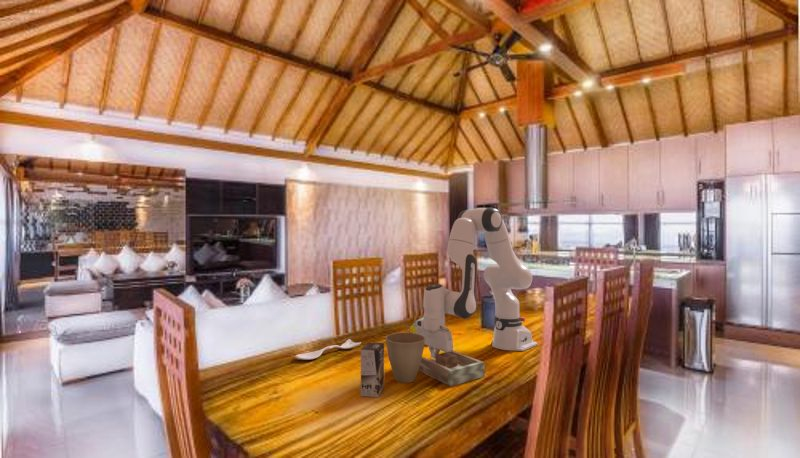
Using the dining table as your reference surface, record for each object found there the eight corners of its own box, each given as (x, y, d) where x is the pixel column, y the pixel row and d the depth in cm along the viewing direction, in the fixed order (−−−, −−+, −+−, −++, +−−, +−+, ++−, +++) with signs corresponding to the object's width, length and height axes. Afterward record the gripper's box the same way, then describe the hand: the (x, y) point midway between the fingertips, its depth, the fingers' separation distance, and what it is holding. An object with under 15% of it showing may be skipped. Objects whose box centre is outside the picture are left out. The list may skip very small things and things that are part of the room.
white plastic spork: (361, 348, 197) (361, 341, 197) (302, 364, 175) (302, 356, 175) (350, 345, 204) (349, 338, 204) (291, 360, 181) (291, 352, 181)
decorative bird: (419, 346, 199) (419, 327, 199) (400, 331, 228) (400, 314, 228) (445, 344, 203) (445, 325, 203) (423, 329, 232) (423, 312, 232)
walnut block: (447, 361, 169) (447, 352, 169) (457, 366, 164) (457, 355, 164) (435, 364, 165) (435, 354, 165) (445, 369, 160) (445, 358, 160)
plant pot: (397, 390, 147) (396, 345, 147) (379, 376, 160) (379, 335, 160) (432, 382, 154) (432, 339, 153) (413, 370, 167) (412, 330, 167)
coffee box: (378, 397, 140) (378, 350, 140) (360, 396, 142) (359, 349, 141) (385, 387, 149) (384, 342, 149) (367, 386, 150) (367, 341, 150)
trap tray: (447, 361, 177) (447, 348, 177) (484, 376, 159) (484, 362, 159) (415, 369, 168) (415, 355, 168) (450, 386, 150) (450, 371, 150)
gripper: (456, 328, 164) (457, 362, 164) (425, 318, 181) (425, 350, 181) (444, 330, 160) (444, 366, 161) (413, 320, 178) (414, 352, 178)
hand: (434, 357), depth 171 cm, fingers closed
